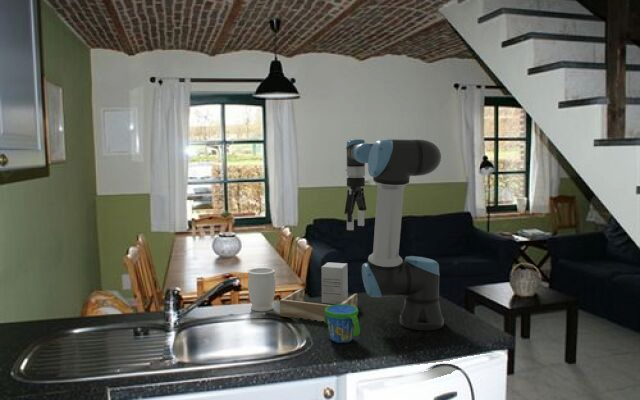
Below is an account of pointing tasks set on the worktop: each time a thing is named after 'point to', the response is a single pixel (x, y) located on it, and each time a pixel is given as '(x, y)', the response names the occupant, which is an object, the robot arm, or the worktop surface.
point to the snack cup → (342, 322)
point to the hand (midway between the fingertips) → (355, 227)
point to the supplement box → (334, 283)
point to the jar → (261, 288)
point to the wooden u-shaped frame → (307, 306)
